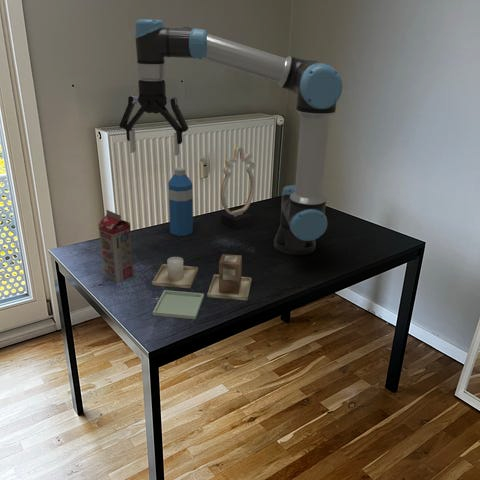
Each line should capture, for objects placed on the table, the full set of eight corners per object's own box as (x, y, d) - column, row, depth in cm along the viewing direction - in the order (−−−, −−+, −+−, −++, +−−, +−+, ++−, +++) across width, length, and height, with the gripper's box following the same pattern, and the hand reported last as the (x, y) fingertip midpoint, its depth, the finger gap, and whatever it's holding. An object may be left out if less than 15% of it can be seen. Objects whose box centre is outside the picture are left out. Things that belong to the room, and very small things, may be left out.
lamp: (244, 215, 203) (246, 141, 190) (258, 221, 197) (262, 145, 184) (213, 224, 193) (213, 147, 179) (227, 231, 187) (229, 152, 173)
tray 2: (203, 298, 142) (203, 293, 141) (195, 321, 131) (195, 316, 130) (164, 294, 143) (164, 290, 142) (152, 317, 132) (152, 312, 131)
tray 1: (198, 271, 157) (198, 267, 156) (190, 289, 146) (190, 285, 145) (162, 268, 158) (162, 264, 157) (152, 286, 147) (151, 282, 146)
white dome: (185, 274, 154) (184, 257, 151) (181, 281, 149) (181, 264, 146) (170, 272, 154) (169, 256, 152) (166, 280, 150) (165, 263, 147)
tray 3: (251, 282, 151) (251, 277, 150) (247, 302, 140) (247, 297, 140) (214, 278, 152) (214, 274, 152) (207, 298, 142) (207, 293, 141)
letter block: (241, 284, 148) (241, 255, 144) (238, 294, 143) (239, 264, 139) (221, 282, 149) (222, 253, 145) (218, 292, 144) (219, 262, 139)
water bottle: (189, 237, 181) (188, 173, 170) (166, 234, 183) (163, 171, 172) (196, 227, 189) (195, 166, 179) (173, 225, 191) (171, 164, 180)
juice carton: (120, 270, 156) (115, 207, 147) (133, 276, 152) (129, 212, 143) (103, 277, 151) (97, 212, 142) (116, 284, 148) (110, 218, 138)
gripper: (197, 79, 137) (198, 152, 146) (114, 75, 140) (119, 147, 149) (191, 82, 130) (192, 158, 139) (104, 78, 133) (110, 153, 142)
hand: (155, 153), depth 144 cm, fingers open, 13 cm apart
